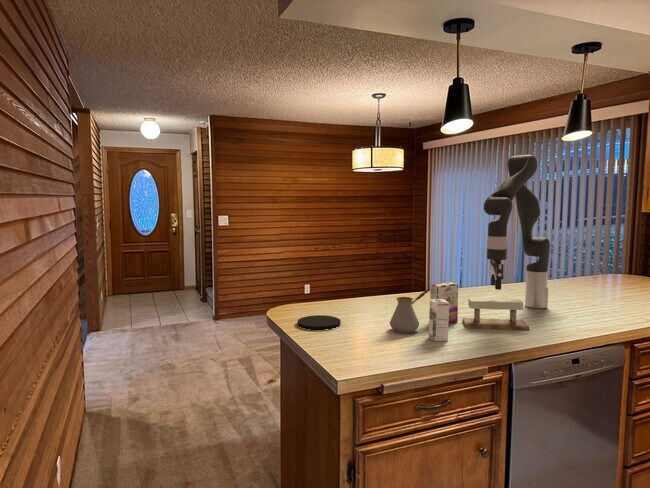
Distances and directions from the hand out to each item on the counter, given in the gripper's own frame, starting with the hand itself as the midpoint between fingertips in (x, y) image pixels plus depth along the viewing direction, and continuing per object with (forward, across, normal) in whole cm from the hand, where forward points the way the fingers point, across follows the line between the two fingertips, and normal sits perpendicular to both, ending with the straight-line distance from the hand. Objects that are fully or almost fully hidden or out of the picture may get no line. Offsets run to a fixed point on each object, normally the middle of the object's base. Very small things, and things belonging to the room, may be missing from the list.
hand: (495, 287), depth 184 cm
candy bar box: (+16, +2, +20) cm, 26 cm away
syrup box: (+16, -22, +24) cm, 36 cm away
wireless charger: (+16, -9, +71) cm, 73 cm away
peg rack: (+16, 0, 0) cm, 16 cm away
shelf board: (+8, 0, 0) cm, 8 cm away
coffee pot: (+16, -9, +33) cm, 38 cm away
